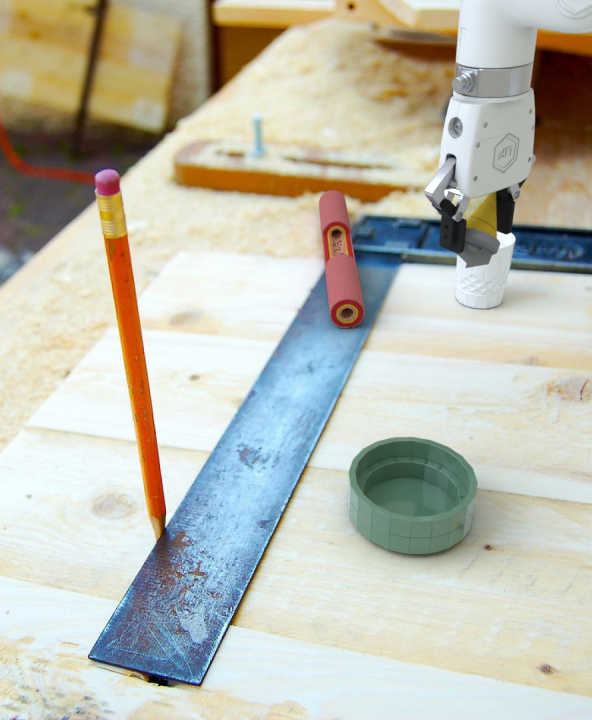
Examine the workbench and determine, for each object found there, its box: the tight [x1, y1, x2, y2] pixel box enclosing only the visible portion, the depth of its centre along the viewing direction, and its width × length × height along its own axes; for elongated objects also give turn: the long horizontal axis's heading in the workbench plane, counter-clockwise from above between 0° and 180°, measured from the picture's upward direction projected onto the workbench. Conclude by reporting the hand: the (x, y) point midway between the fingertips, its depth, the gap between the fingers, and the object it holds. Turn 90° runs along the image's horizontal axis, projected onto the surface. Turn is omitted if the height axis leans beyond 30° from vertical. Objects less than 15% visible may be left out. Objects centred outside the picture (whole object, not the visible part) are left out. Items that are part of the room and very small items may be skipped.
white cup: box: [455, 231, 517, 310], centre depth 112 cm, size 8×8×10 cm
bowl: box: [347, 436, 478, 555], centre depth 78 cm, size 12×12×5 cm
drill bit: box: [455, 192, 500, 268], centre depth 87 cm, size 5×5×10 cm
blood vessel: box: [318, 189, 366, 329], centre depth 126 cm, size 42×5×5 cm, turn 177°
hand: (475, 238), depth 88 cm, fingers closed on drill bit, 7 cm apart
